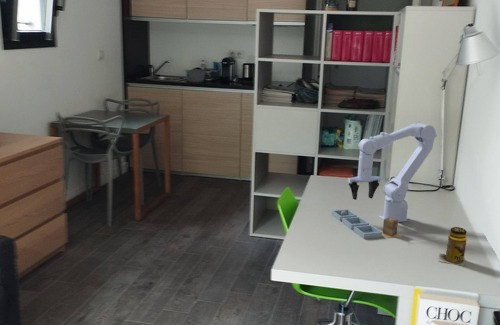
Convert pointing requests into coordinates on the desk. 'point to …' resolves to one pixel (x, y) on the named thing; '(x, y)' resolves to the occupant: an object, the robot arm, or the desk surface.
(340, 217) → the dish
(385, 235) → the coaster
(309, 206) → the desk surface
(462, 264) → the condiment
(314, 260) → the desk surface
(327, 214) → the desk surface
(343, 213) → the grey ball
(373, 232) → the dish
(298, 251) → the desk surface
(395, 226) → the letter block
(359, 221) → the dish
